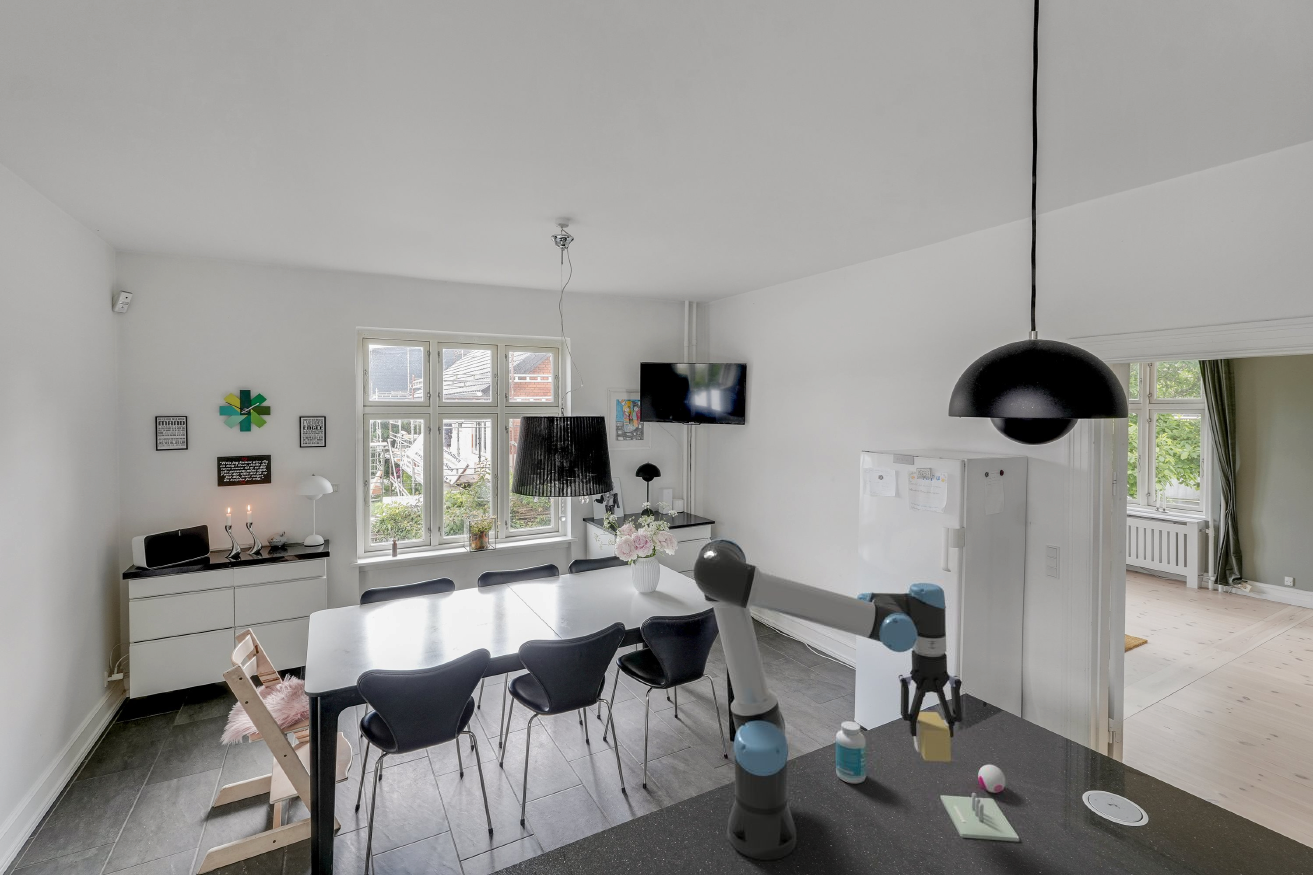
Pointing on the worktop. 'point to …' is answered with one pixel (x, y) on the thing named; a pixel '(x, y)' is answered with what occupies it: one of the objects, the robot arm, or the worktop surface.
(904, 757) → the worktop surface
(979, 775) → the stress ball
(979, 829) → the board
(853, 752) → the pill bottle
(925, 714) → the tan yellow block
